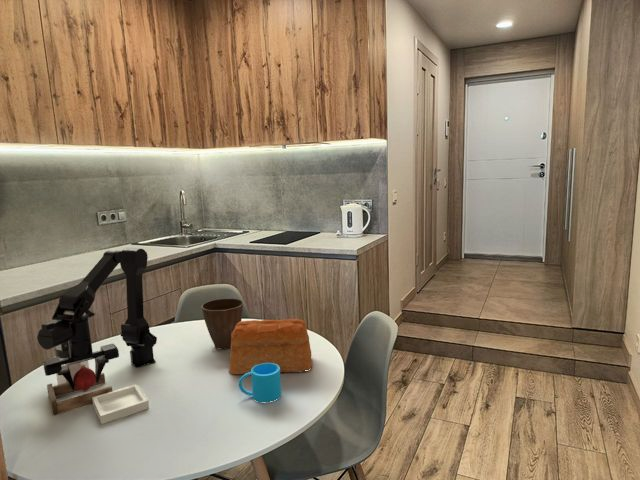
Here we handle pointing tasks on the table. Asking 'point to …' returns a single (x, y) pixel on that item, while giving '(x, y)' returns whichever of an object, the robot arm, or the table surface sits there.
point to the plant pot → (222, 320)
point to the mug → (264, 382)
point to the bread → (270, 345)
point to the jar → (72, 367)
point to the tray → (119, 403)
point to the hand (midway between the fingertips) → (85, 386)
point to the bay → (75, 401)
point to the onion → (84, 378)
